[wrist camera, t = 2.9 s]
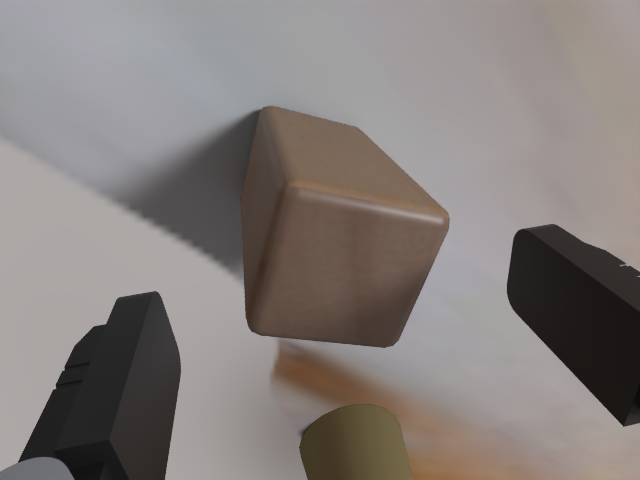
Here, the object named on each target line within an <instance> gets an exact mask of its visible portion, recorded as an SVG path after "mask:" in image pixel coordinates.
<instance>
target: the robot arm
mask: <svg viewBox="0 0 640 480" xmlns="http://www.w3.org/2000/svg"><path fill="white" fill-rule="evenodd" d="M507 295H508V299H509V302H510V304H511V306H512V308H513V310H514V311H515V312H516V314H517V315H518V316H519V317H520V318H521V319H522V320H523V321H524V322H525V323H526V324H527V325H528V326H529V327H530V328H531V329H532V330H533V332H534V333H535V334H536V335H537V336H538V337H539V338H540V339H541V340H542V341H543V342H544V343H545V344H546V345H547V346H548V347H549V348H550V349H551V351H552V352H553V353H554V354H555V355H556V356H557V357H558V358H559V359H560V360H561V361H562V362H563V363H564V364H565V365H566V366H567V367H568V368H569V369H570V371H571V372H572V373H573V374H574V375H575V376H576V377H577V378H578V379H579V380H580V381H581V382H582V383H583V384H584V385H585V386H586V387H587V388H588V390H589V391H590V392H591V393H592V394H593V395H594V396H595V397H596V398H597V399H598V400H599V401H600V402H601V403H602V404H603V405H604V406H605V407H606V409H607V410H608V411H609V412H610V413H611V414H612V415H613V416H614V417H615V418H616V419H617V420H618V421H619V422H620V423H621V424H622V425H623V426H629V425H633V424H637V423H640V272H639V271H637V270H636V269H634V268H633V267H631V266H626V263H625V262H623V261H621V260H620V259H618V258H617V257H615V256H614V255H612V254H610V253H609V252H607V251H606V250H603V249H600V248H597V247H595V246H592V245H589V244H587V243H584V242H582V241H581V240H579V239H578V238H576V237H575V236H573V235H572V234H570V233H568V232H567V231H565V230H564V229H562V228H561V227H559V226H557V225H555V224H549V225H543V226H538V227H532V228H526V229H521V230H519V231H518V232H517V233H516V234H515V236H514V240H513V247H512V254H511V261H510V267H509V274H508V281H507ZM180 375H181V363H180V356H179V351H178V346H177V343H176V340H175V337H174V334H173V332H172V328H171V325H170V322H169V319H168V317H167V313H166V310H165V307H164V304H163V301H162V298H161V296H160V294H159V293H158V292H156V291H154V292H148V293H142V294H137V295H131V296H125V297H120V298H118V299H117V300H116V302H115V305H114V307H113V309H112V312H111V314H110V317H109V319H108V321H107V324H105V325H100V326H94V327H93V328H92V329H91V330H90V331H89V332H88V333H87V334H86V335H85V336H84V337H83V338H82V339H81V340H80V341H79V342H78V343H77V344H76V345H75V346H74V349H73V350H72V352H71V354H70V357H69V359H68V361H67V363H66V365H65V371H62V373H61V375H60V377H59V379H58V381H57V383H56V389H55V390H53V392H52V394H51V395H50V398H49V400H48V402H47V404H46V406H45V408H44V410H43V412H42V414H41V416H40V418H39V420H38V422H37V424H36V426H35V428H34V430H33V432H32V434H31V436H30V439H29V441H28V443H27V445H26V447H25V449H24V451H23V453H22V455H21V457H20V459H19V461H18V463H16V464H14V465H12V466H10V467H8V468H6V469H5V470H3V471H1V472H0V480H165V474H166V467H167V461H168V454H169V448H170V441H171V434H172V427H173V422H174V415H175V409H176V402H177V395H178V389H179V382H180Z"/></svg>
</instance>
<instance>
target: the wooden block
mask: <svg viewBox="0 0 640 480" xmlns="http://www.w3.org/2000/svg"><path fill="white" fill-rule="evenodd" d="M241 213H242V237H243V262H244V286H245V311H246V319H247V323H248V327H249V328H250V330H251V331H252V332H255V333H257V334H259V335H261V336H271V337H282V338H292V339H302V340H312V341H322V342H332V343H342V344H352V345H362V346H372V347H382V348H386V347H389V346H393V345H394V344H395V343H396V342H397V341H398V340H399V338H400V336H401V334H402V331H403V329H404V327H405V325H406V323H407V320H408V318H409V316H410V314H411V311H412V309H413V307H414V305H415V303H416V300H417V298H418V296H419V294H420V292H421V289H422V287H423V285H424V283H425V280H426V278H427V276H428V274H429V272H430V269H431V267H432V265H433V263H434V261H435V258H436V256H437V254H438V252H439V249H440V247H441V245H442V243H443V241H444V238H445V236H446V234H447V232H448V230H449V220H450V218H449V214H448V212H447V211H446V210H445V209H444V208H443V207H442V206H441V205H439V204H438V203H437V202H436V201H435V200H434V199H433V198H432V197H431V196H430V195H429V194H428V193H427V192H426V191H425V190H424V189H423V188H422V187H420V186H419V185H418V184H417V183H416V182H415V181H414V180H413V179H412V178H411V177H410V176H409V175H408V174H407V173H406V172H405V171H404V170H403V169H402V168H400V167H399V166H398V165H397V164H396V163H395V162H394V161H393V160H392V159H391V158H390V157H389V156H388V155H387V154H386V153H385V152H384V151H383V150H381V149H380V148H379V147H378V146H377V145H376V144H375V143H374V142H373V141H372V140H371V139H370V138H369V137H368V136H367V135H366V134H365V133H364V132H362V131H361V130H360V129H359V128H357V127H353V126H350V125H346V124H342V123H338V122H334V121H330V120H326V119H322V118H318V117H314V116H310V115H306V114H303V113H299V112H295V111H291V110H287V109H283V108H279V107H275V106H268V107H263V109H262V110H261V112H260V113H259V115H258V120H257V124H256V129H255V134H254V139H253V143H252V148H251V153H250V157H249V162H248V167H247V171H246V176H245V181H244V186H243V190H242V195H241Z"/></svg>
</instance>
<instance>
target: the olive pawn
mask: <svg viewBox="0 0 640 480" xmlns="http://www.w3.org/2000/svg"><path fill="white" fill-rule="evenodd" d="M299 448H300V453H301V458H302V462H303V465H304V468H305V471H306V475H307V478H308V480H413V477H412V473H411V469H410V465H409V461H408V457H407V452H406V448H405V444H404V440H403V436H402V432H401V428H400V424H399V422H398V421H397V419H396V417H395V415H393V414H392V413H391V412H389V411H388V410H386V409H385V408H381V407H378V406H374V405H352V406H347V407H343V408H339V409H336V410H334V411H332V412H330V413H327V414H325V415H323V416H322V417H321V418H319V419H318V420H317V421H315V422H314V423H313V424H311V425H310V427H309V428H308V429H307V431H306V432H305V433H304V435H303V436H302V440H301V443H300V447H299Z"/></svg>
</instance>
